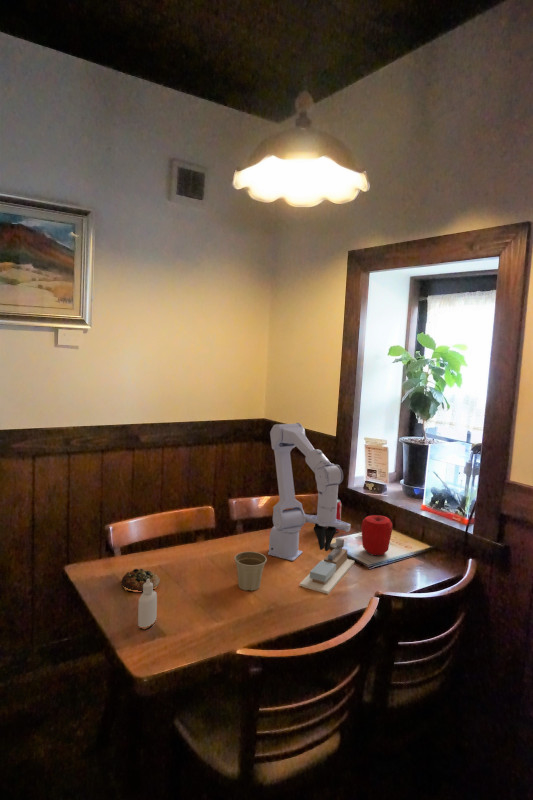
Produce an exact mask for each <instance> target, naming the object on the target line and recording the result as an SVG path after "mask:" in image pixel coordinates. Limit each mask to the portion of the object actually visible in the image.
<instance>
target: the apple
mask: <svg viewBox="0 0 533 800" xmlns="http://www.w3.org/2000/svg"><path fill="white" fill-rule="evenodd" d="M392 532H393V523H392V521H391V519H390V518H389V517H387V516H384V515H378V514H377V515H374V514H373V515H368V516H366V517H365V518H364V519H363V520H362V521H361V541H362V542H361V543H362V548H363V549H364V550H365V551H366V552H367V553H368V554H369V553H370V554H369V555H371V554H373V555H372V556H375V555H380V556H383V555H384V554H386V553H387V552H388V551H389V549H390V548H389V547H390V542H391V537H392Z"/></svg>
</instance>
